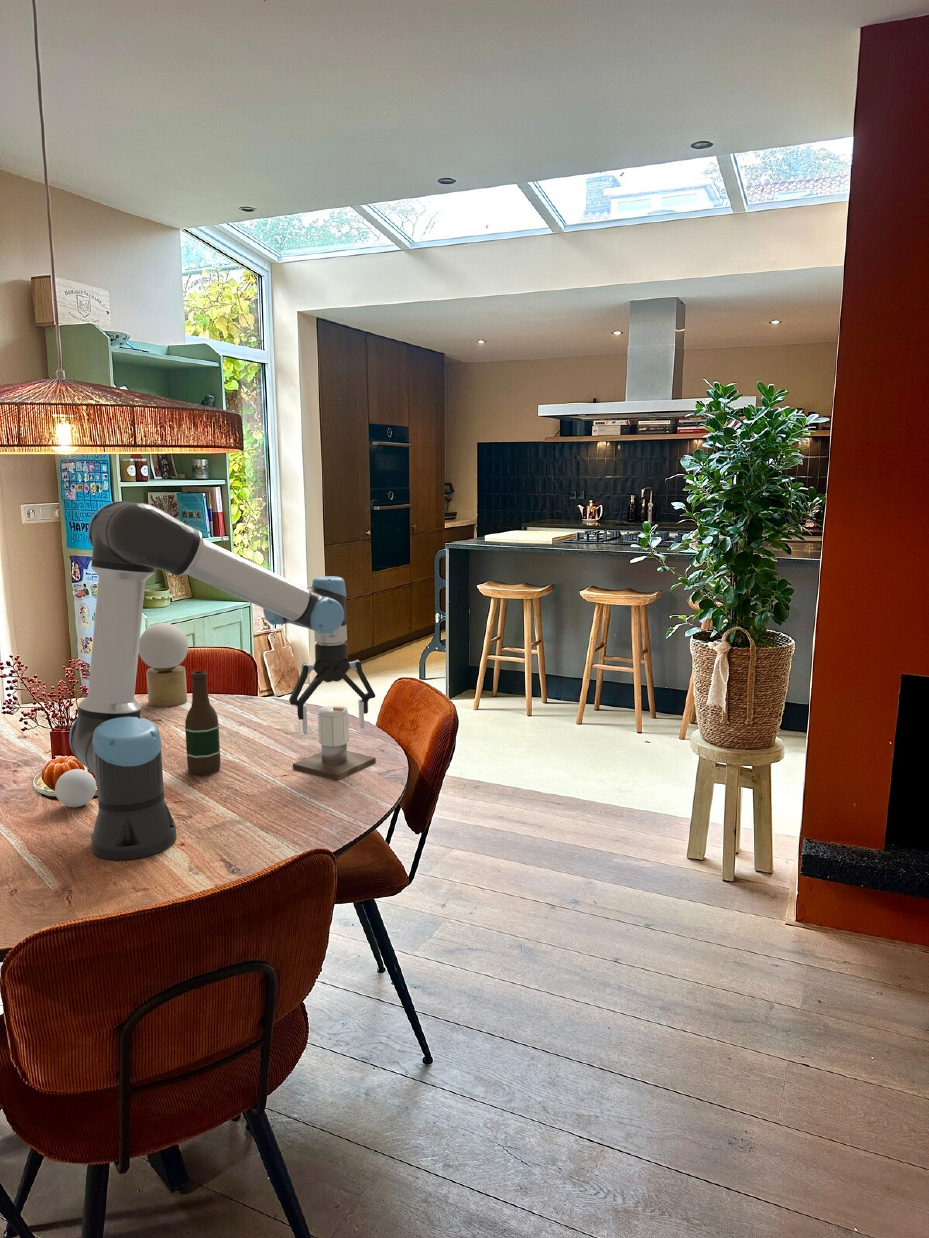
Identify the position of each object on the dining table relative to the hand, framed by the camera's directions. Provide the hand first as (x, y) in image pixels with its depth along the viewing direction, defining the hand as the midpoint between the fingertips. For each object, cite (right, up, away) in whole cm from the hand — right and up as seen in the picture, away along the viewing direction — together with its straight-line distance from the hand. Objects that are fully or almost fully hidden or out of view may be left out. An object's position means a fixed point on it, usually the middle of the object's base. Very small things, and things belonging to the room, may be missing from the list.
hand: (333, 729), depth 202 cm
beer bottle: (-30, -10, -1) cm, 32 cm away
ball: (-51, -14, -22) cm, 57 cm away
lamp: (-59, 0, +55) cm, 81 cm away
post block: (0, -9, +2) cm, 9 cm away
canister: (0, -3, 0) cm, 3 cm away
